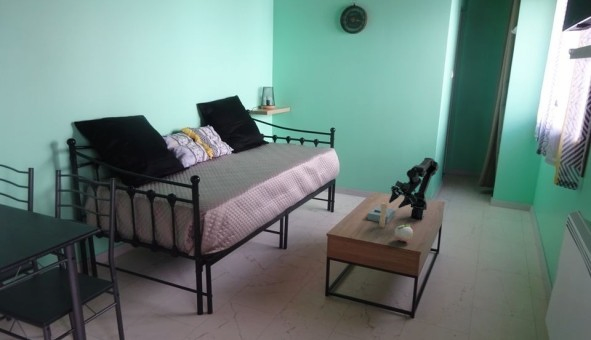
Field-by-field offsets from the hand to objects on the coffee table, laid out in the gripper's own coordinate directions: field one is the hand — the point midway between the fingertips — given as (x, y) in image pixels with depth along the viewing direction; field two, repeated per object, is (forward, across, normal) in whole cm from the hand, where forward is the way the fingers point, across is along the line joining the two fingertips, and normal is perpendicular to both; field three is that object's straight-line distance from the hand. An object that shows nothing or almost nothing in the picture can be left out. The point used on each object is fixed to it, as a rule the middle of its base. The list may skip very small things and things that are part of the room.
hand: (393, 205), depth 231 cm
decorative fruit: (+14, +21, +4) cm, 26 cm away
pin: (+14, 0, +4) cm, 14 cm away
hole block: (+8, -14, +10) cm, 19 cm away
